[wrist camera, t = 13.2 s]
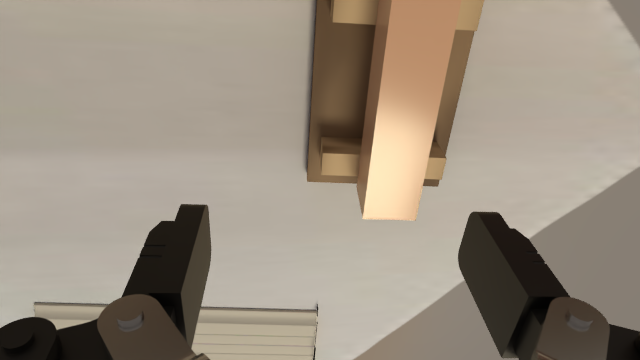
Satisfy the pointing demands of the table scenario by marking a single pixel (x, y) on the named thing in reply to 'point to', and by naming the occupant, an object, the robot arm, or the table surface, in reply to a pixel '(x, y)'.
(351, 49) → the cleated wooden board
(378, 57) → the clay bar
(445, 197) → the table surface
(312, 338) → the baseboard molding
